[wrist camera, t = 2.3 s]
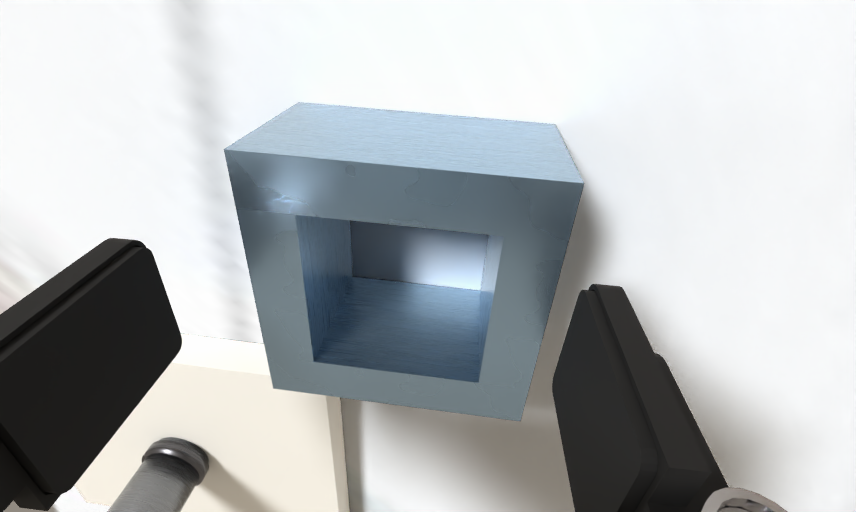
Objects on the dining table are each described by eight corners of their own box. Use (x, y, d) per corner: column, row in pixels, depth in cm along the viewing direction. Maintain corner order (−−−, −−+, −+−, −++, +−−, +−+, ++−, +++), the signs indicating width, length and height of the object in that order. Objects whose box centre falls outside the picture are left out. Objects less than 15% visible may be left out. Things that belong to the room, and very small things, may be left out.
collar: (555, 124, 11) (583, 183, 8) (512, 324, 15) (520, 421, 12) (298, 102, 12) (223, 149, 9) (318, 301, 16) (273, 388, 12)
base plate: (336, 353, 17) (324, 382, 16) (349, 512, 23) (341, 542, 22) (6, 311, 18) (-30, 336, 17) (106, 475, 24) (86, 502, 23)
